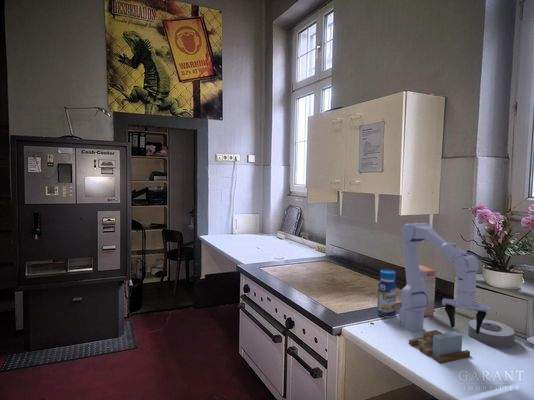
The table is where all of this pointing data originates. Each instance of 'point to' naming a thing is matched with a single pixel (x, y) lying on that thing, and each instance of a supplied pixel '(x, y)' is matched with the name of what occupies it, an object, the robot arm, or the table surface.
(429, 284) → the cracker box
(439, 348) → the blue-grey rectangular block
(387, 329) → the table surface
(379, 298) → the beverage bottle
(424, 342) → the block
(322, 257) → the table surface
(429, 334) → the offcut short
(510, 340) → the tape roll
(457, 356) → the rack
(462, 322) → the table surface
